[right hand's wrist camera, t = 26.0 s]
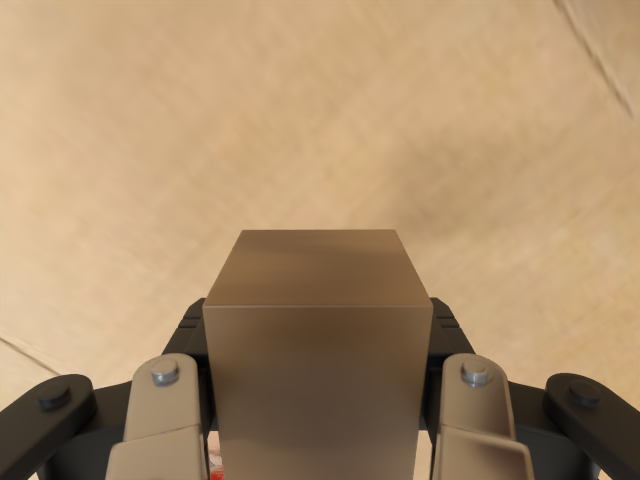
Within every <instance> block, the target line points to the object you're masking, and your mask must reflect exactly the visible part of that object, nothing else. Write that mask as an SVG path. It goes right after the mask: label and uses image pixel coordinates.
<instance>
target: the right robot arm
mask: <svg viewBox="0 0 640 480" xmlns="http://www.w3.org/2000/svg"><path fill="white" fill-rule="evenodd" d="M205 300H206V298H200V299H199V300H198V301H196V302H195V303H194V304H192V305H191V306H190V307H189V308H188V310H187V311H186V313H185V315H184V317H183V319H182V320H181V322H180V323H179V325H178V328H177V329H176V330H175V332H174V334H173V335H172V337H171V339H170V341H169V342H168V344H167V346H166V348H165V349H164V351H163V353H162V354H161V356H158V357H155V358H153V359H151V360H149V361H147V362H145V363H144V364H143V365H141V366H140V367H139V368H138V369H137V371H136V372H135V374H134V376H133V379H132V380H131V381H128V382H126V383H122V384H118V385H114V386H109V387H104V388H100V389H95V390H94V389H93V386H92V382H91V380H90V379H89V378H88V377H86V376H83V375H79V374H68V375H62V376H58V377H54V378H51V379H49V380H46V381H44V382H42V383H40V384H38V385H36V386H35V387H33V388H32V389H30V390H29V391H28V392H26V393H25V394H24V395H22V396H21V397H20V398H18V399H17V400H16V401H14V402H13V403H12V404H10V405H9V406H8V407H6V408H5V409H4V410H2V411H1V412H0V480H28V479H29V478H30V477H31V476H32V475H33V474H34V473H35V472H36V473H37V476H38V478H39V480H211V470H210V457H209V448H208V441H207V438H208V435H209V432H210V431H218V426H217V418H216V410H215V402H214V395H213V387H212V379H211V371H210V364H209V356H208V348H207V340H206V332H205V325H204V317H203V309H202V306H203V304H204V302H205ZM430 300H431V302H432V304H433V314H432V323H431V331H430V340H429V348H428V356H427V365H426V373H425V382H424V390H423V398H422V407H421V415H420V424H419V430H427V431H428V434H429V437H430V440H431V443H432V448H431V457H430V470H429V480H599V479H598V476H599V473H600V470H601V469H602V470H603V471H604V472H605V473H606V474H607V475H608V476H609V477H610V478H611V479H612V480H640V412H639V411H638V410H636V409H635V408H634V407H632V406H631V405H630V404H628V403H627V402H626V401H624V400H623V399H622V398H620V397H619V396H618V395H616V394H615V393H614V392H612V391H611V390H610V389H608V388H607V387H605V386H604V385H602V384H600V383H599V382H597V381H595V380H592V379H590V378H587V377H585V376H581V375H577V374H571V373H559V374H555V375H552V376H551V377H550V378H549V379H548V380H547V383H546V387H545V390H544V389H540V388H535V387H531V386H526V385H522V384H517V383H513V382H510V381H508V379H507V376H506V374H505V372H504V371H503V369H502V368H501V367H500V366H499V365H497V364H496V363H495V362H493V361H491V360H489V359H487V358H485V357H482V356H479V355H476V353H475V352H474V350H473V348H472V346H471V345H470V343H469V341H468V339H467V338H466V336H465V334H464V333H463V331H462V329H461V328H460V327H459V324H458V322H457V320H456V319H455V317H454V315H453V313H452V312H451V310H450V308H449V306H447V305H446V304H445V303H443V302H442V301H441V300H439V299H438V298H430Z"/></svg>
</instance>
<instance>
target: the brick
mask: <svg viewBox="0 0 640 480" xmlns="http://www.w3.org/2000/svg"><path fill="white" fill-rule="evenodd" d="M202 309H203V317H204V325H205V332H206V340H207V348H208V356H209V364H210V371H211V379H212V387H213V395H214V402H215V410H216V418H217V426H218V434H219V441H220V449H221V457H222V465H223V473H224V480H413V474H414V465H415V457H416V449H417V440H418V432H419V424H420V415H421V407H422V398H423V390H424V382H425V373H426V365H427V356H428V348H429V340H430V331H431V323H432V314H433V304H432V302H431V300H430V298H429V296H428V294H427V292H426V290H425V288H424V286H423V284H422V282H421V280H420V278H419V276H418V274H417V272H416V270H415V268H414V266H413V265H412V263H411V261H410V259H409V257H408V255H407V253H406V251H405V249H404V247H403V245H402V243H401V241H400V239H399V237H398V235H397V233H396V231H395V230H242V232H241V234H240V235H239V237H238V239H237V241H236V243H235V245H234V247H233V249H232V251H231V253H230V254H229V256H228V258H227V260H226V262H225V264H224V266H223V268H222V270H221V271H220V273H219V275H218V277H217V279H216V281H215V283H214V285H213V287H212V288H211V290H210V292H209V294H208V296H207V298H206V300H205V302H204V304H203V306H202Z"/></svg>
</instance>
